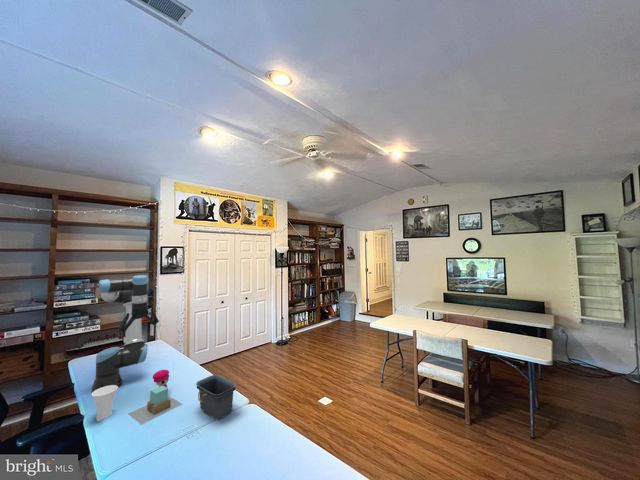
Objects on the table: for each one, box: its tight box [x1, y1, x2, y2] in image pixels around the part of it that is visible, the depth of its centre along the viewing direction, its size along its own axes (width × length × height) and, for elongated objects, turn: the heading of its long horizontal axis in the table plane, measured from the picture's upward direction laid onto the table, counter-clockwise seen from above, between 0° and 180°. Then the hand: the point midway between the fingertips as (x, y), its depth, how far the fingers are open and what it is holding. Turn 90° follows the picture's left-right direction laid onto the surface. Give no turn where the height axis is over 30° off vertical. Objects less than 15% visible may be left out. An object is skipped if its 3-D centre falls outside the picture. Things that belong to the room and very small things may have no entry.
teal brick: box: [149, 385, 169, 405], centre depth 138 cm, size 6×6×6 cm
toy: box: [152, 369, 170, 388], centre depth 151 cm, size 8×8×15 cm
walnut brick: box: [146, 398, 171, 415], centre depth 138 cm, size 8×8×4 cm
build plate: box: [127, 395, 183, 426], centre depth 137 cm, size 16×20×1 cm
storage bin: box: [195, 374, 237, 421], centre depth 135 cm, size 21×16×14 cm
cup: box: [91, 385, 118, 422], centre depth 133 cm, size 10×10×14 cm
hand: (139, 338), depth 150 cm, fingers open, 13 cm apart
